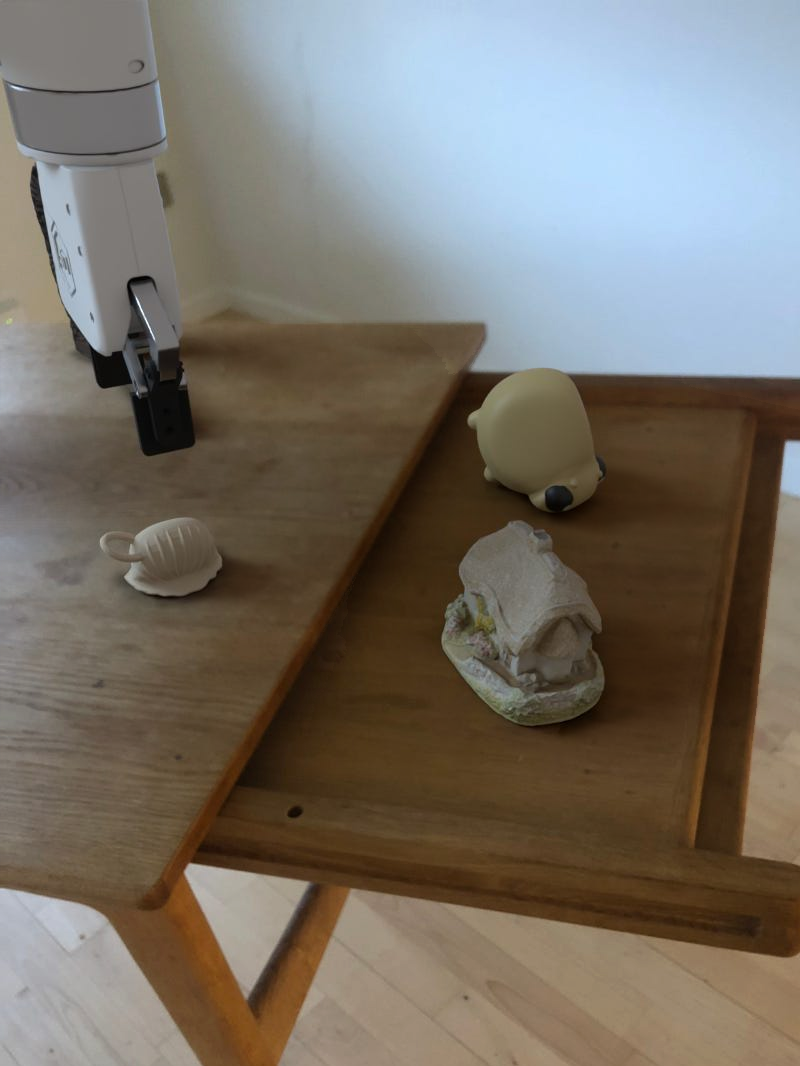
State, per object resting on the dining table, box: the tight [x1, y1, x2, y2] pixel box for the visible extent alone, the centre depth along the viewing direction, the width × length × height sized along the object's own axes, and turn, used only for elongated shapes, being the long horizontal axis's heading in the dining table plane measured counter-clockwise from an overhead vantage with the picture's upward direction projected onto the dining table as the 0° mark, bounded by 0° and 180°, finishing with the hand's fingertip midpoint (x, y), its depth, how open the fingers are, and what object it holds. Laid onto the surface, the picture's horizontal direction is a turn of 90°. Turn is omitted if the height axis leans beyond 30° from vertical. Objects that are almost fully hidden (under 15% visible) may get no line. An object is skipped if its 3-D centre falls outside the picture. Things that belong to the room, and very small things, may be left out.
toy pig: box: [467, 367, 607, 513], centre depth 80 cm, size 10×12×11 cm
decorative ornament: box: [99, 517, 223, 597], centre depth 68 cm, size 4×8×5 cm, turn 121°
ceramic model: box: [441, 519, 606, 727], centre depth 63 cm, size 14×11×10 cm
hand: (144, 415), depth 61 cm, fingers open, 9 cm apart
